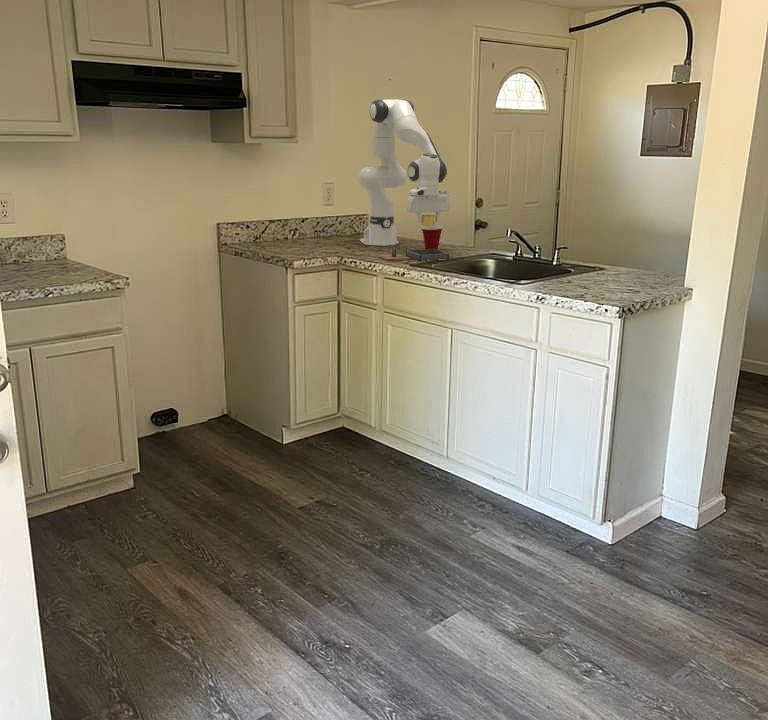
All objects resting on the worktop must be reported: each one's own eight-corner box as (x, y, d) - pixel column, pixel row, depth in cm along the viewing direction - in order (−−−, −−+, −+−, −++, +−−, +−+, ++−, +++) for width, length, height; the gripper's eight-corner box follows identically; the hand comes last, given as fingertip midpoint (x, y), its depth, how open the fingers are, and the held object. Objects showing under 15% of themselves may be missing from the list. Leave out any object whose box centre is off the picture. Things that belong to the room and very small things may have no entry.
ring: (419, 224, 349) (419, 215, 348) (430, 224, 351) (431, 214, 350) (425, 226, 344) (425, 216, 342) (437, 226, 346) (437, 216, 345)
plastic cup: (415, 250, 374) (416, 225, 371) (432, 248, 380) (433, 224, 377) (429, 253, 366) (430, 228, 362) (446, 251, 372) (447, 226, 369)
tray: (405, 256, 356) (405, 250, 355) (433, 254, 361) (434, 248, 360) (419, 261, 343) (420, 255, 342) (448, 259, 348) (449, 253, 348)
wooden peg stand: (378, 257, 352) (378, 243, 350) (399, 256, 357) (400, 242, 355) (388, 261, 343) (388, 247, 341) (410, 259, 347) (410, 246, 345)
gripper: (446, 189, 350) (444, 220, 354) (405, 190, 342) (405, 221, 346) (452, 191, 344) (451, 221, 348) (412, 192, 336) (411, 223, 340)
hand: (428, 221), depth 347 cm, fingers closed on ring, 6 cm apart
